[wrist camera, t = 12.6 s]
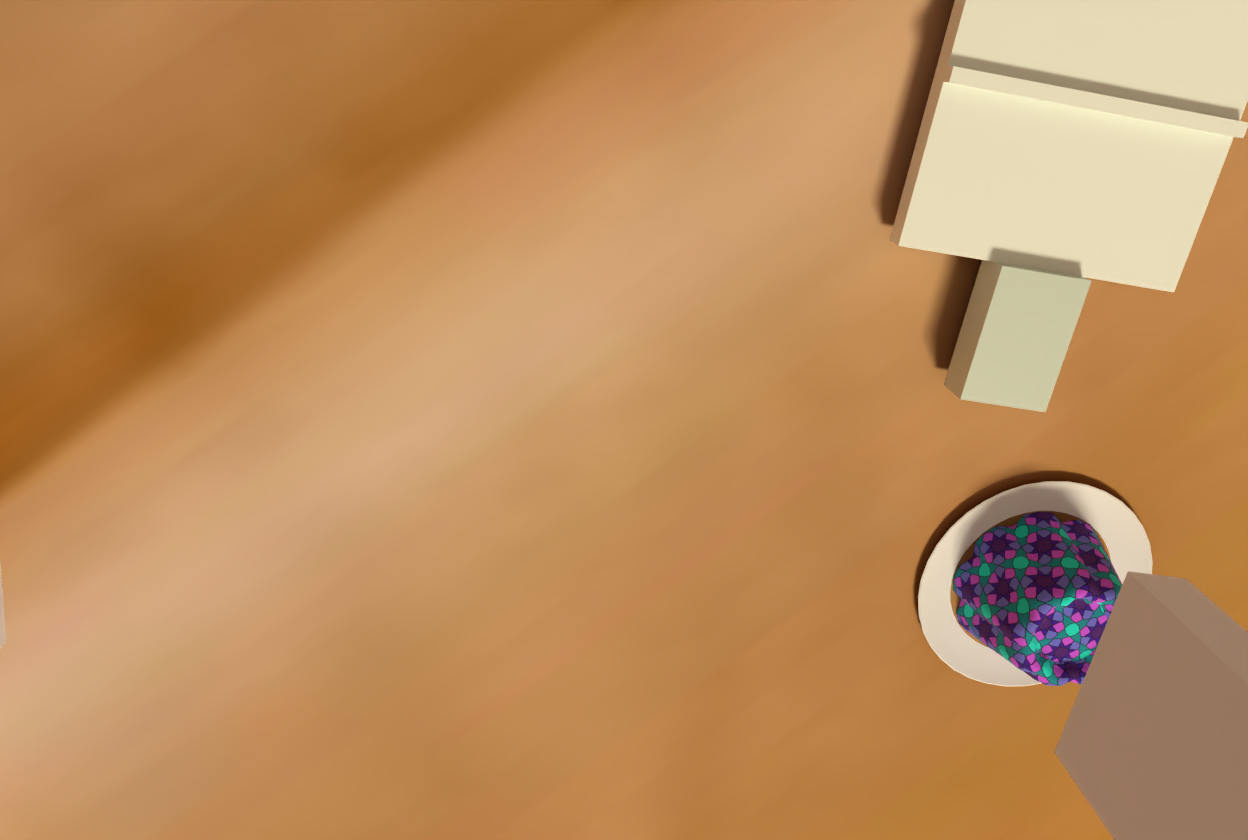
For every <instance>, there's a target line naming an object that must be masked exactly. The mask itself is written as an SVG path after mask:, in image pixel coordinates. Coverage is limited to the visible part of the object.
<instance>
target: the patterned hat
mask: <svg viewBox="0 0 1248 840" xmlns="http://www.w3.org/2000/svg"><path fill="white" fill-rule="evenodd" d="M1035 511H1056V512H1062V513H1067V514H1070V515H1072V516H1075V517H1078V518H1080V519H1082V520H1083V521H1085V522H1087V523H1088V524H1086V523H1084V522H1082V521H1079V520H1073V521H1067V522H1062V523H1061V522H1060V521H1059V520H1058V519H1057V518H1056V517H1055V515H1054V514H1053V513H1047V512H1035ZM1029 512H1035V513H1031V514H1027V515H1024V516H1023V517H1022V518H1021V519H1020V520H1019V521H1018V522H1017V523H1016V524H1015V525H1014V526H1013V527H1011V526H996V527H995V528H993V529H991V530H989V531H987V530H988V529H990V528H991V527H993V526H994V525H996V524H998V523H1000V522H1002V521H1004V520H1006V519H1008V518H1011V517H1014V516H1017V515H1020V514H1023V513H1029ZM1089 524H1090V525H1091V526H1092V527H1093V528H1094V529H1095V530H1096V531H1097V532H1098V533H1099V534H1100V536H1101V537H1102V538H1103V540H1104V541H1105V543H1106V546H1107V548H1108V551H1109V553H1110V559H1111V561H1110V559H1109V557H1108V555H1107V554H1106V552H1105V550H1104V548H1103V546H1102V544H1101V542H1100V540H1099V538H1098V536H1097V534H1096V533H1095V532H1094V530H1093V529H1092V528H1091V527H1090V525H1089ZM985 531H987V532H985ZM984 532H985V533H984ZM983 533H984V534H983ZM982 534H983V535H982ZM981 535H982V536H981ZM979 536H981V537H980V538H979V539H978V541H977V542H976V543H975V546H974V553H973V558H971V559H970V560H968V561H966V562H965V563H963V564H962V565H960V566H959V568H958V570H957V572H956V574H955V576H954V578H953V590H954V592H955V593H956V594H957V595H958V596H959V597H960V599H961V602H960V604H959V607H958V609H957V611H956V614H957V617H958V621H959V624H961V625H962V626H963V627H964V628H965V629H966V630H967V631H968V632H969V633H971V634H972V635H973V636H975V637H976V638H977V639H979V640H980V641H981V642H983V643H984V644H986V645H987V646H988V647H990V648H988V647H985V646H983V645H981V644H979V643H978V642H976V641H974V640H973V639H972V638H970V637H969V636H968V635H967V634H966V633H965V632H964V631H963V630H962V628H961V627H960V626H959V624H958V623H957V621H956V618H955V616H954V614H953V611H952V607H951V602H950V588H951V582H952V577H953V575H954V572H955V569H956V566H957V564H958V563H959V561H960V559H961V557H962V556H963V554H964V553H965V551H966V550H967V549H968V548H969V547H970V545H971V544H972V543H973V542H974V541H975V540H976V539H977V538H978V537H979ZM1128 571H1130V572H1138V573H1145V574H1152V554H1151V547H1150V543H1149V540H1148V537H1147V535H1146V532H1145V529H1144V527H1143V526H1142V524H1141V523H1140V521H1139V520H1138V518H1137V517H1136V515H1135V514H1134V513H1133V512H1132V511H1131V510H1130V509H1129V508H1128V507H1127V506H1126V505H1125V504H1124V503H1123V502H1122V501H1120V500H1119V499H1117V498H1116V497H1114V496H1112V495H1111V494H1109V493H1107V492H1106V491H1103V490H1101V489H1098V488H1095V487H1092V486H1090V485H1086V484H1080V483H1075V482H1069V481H1045V482H1039V483H1032V484H1026V485H1022V486H1019V487H1016V488H1013V489H1010V490H1007V491H1004V492H1002V493H1000V494H998V495H995V496H993V497H991V498H989V499H987V500H985V501H983V502H982V503H980V504H979V505H978V506H976V507H975V508H973V509H972V510H970V511H969V512H967V513H966V514H965V515H964V516H963V517H961V518H960V519H959V520H958V521H957V522H956V523H955V524H954V525H953V526H952V527H951V528H950V529H949V530H948V531H947V532H946V534H945V535H944V536H943V537H942V539H941V540H940V541H939V542H938V544H937V545H936V547H935V549H934V550H933V552H932V554H931V556H930V558H929V559H928V561H927V564H926V566H925V569H924V572H923V575H922V578H921V581H920V588H919V594H918V611H919V618H920V622H921V626H922V630H923V633H924V635H925V637H926V639H927V641H928V643H929V644H930V646H931V648H932V649H933V650H934V651H935V653H936V654H937V655H938V656H939V657H940V659H941V660H942V661H944V662H945V663H946V664H947V665H949V666H950V667H951V668H952V669H954V670H955V671H957V672H959V673H961V674H963V675H965V676H966V677H968V678H971V679H974V680H977V681H980V682H983V683H986V684H993V685H1000V686H1028V685H1034V684H1041V683H1043V684H1045V685H1050V686H1061V685H1063V684H1065V683H1067V682H1070V681H1072V682H1075V683H1078V684H1082V683H1083V681H1084V678H1085V676H1086V673H1087V671H1088V668H1089V666H1090V663H1091V661H1092V658H1093V656H1094V654H1095V651H1096V649H1097V646H1098V644H1099V641H1100V639H1101V636H1102V634H1103V631H1104V629H1105V626H1106V624H1107V622H1108V619H1109V617H1110V614H1111V612H1112V609H1113V607H1114V604H1115V602H1116V599H1117V597H1118V594H1119V592H1120V589H1121V587H1122V585H1123V582H1124V580H1125V577H1126V575H1127V572H1128Z"/></svg>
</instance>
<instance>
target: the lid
mask: <svg viewBox="0 0 1248 840" xmlns="http://www.w3.org/2000/svg"><path fill="white" fill-rule="evenodd" d="M1247 101H1248V0H955V1H954V5H953V8H952V12H951V16H950V19H949V23H948V27H947V31H946V34H945V38H944V42H943V45H942V49H941V53H940V56H939V60H938V64H937V67H936V71H935V75H934V78H933V82H932V86H931V90H930V93H929V97H928V101H927V104H926V108H925V112H924V115H923V119H922V123H921V126H920V130H919V134H918V137H917V141H916V145H915V148H914V152H913V156H912V160H911V163H910V167H909V171H908V174H907V178H906V182H905V185H904V189H903V193H902V196H901V200H900V204H899V207H898V211H897V215H896V219H895V222H894V226H893V230H892V233H891V237H890V241H891V242H893V243H895V244H896V245H898V246H903V247H909V248H915V249H921V250H927V251H933V252H939V253H945V254H951V255H956V256H962V257H968V258H974V259H980V260H982V262H981V265H980V268H979V272H978V275H977V278H976V281H975V285H974V288H973V291H972V294H971V298H970V301H969V304H968V307H967V311H966V314H965V317H964V320H963V324H962V327H961V330H960V333H959V337H958V340H957V343H956V346H955V350H954V353H953V356H952V359H951V363H950V366H949V369H948V372H947V376H946V379H945V382H944V385H945V386H946V387H947V388H948V389H949V390H951V391H952V392H953V393H954V394H955V395H956V396H957V397H958V398H960V399H962V400H969V401H975V402H982V403H988V404H995V405H1002V406H1008V407H1015V408H1021V409H1028V410H1035V411H1041V412H1046V409H1047V406H1048V403H1049V400H1050V398H1051V395H1052V392H1053V389H1054V386H1055V383H1056V380H1057V378H1058V375H1059V372H1060V369H1061V366H1062V363H1063V361H1064V358H1065V355H1066V352H1067V349H1068V346H1069V343H1070V341H1071V338H1072V335H1073V332H1074V329H1075V326H1076V324H1077V321H1078V318H1079V315H1080V312H1081V309H1082V306H1083V304H1084V301H1085V298H1086V295H1087V292H1088V289H1089V287H1090V284H1091V280H1088V279H1086V278H1092V279H1098V280H1104V281H1110V282H1116V283H1122V284H1128V285H1134V286H1140V287H1145V288H1151V289H1157V290H1163V291H1169V292H1174V291H1175V288H1176V286H1177V283H1178V281H1179V278H1180V275H1181V273H1182V270H1183V268H1184V265H1185V262H1186V260H1187V257H1188V255H1189V252H1190V249H1191V247H1192V244H1193V242H1194V239H1195V236H1196V234H1197V231H1198V229H1199V226H1200V223H1201V221H1202V218H1203V216H1204V213H1205V210H1206V208H1207V205H1208V203H1209V200H1210V197H1211V195H1212V192H1213V189H1214V187H1215V184H1216V182H1217V179H1218V176H1219V174H1220V171H1221V169H1222V166H1223V163H1224V161H1225V158H1226V156H1227V153H1228V150H1229V148H1230V145H1231V143H1232V140H1233V137H1238V138H1244V135H1245V132H1246V130H1247V127H1248V123H1247V122H1242V121H1240V119H1241V117H1242V114H1243V111H1244V109H1245V106H1246V104H1247ZM1084 277H1086V278H1084Z"/></svg>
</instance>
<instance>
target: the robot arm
mask: <svg viewBox="0 0 1248 840" xmlns="http://www.w3.org/2000/svg"><path fill="white" fill-rule="evenodd" d="M5 643H6V629H5V616H4V603H3V590H2V577H1V564H0V648H1V647H2V646H3V645H4V644H5ZM1055 754H1056V755H1057V756H1058V758H1059V759H1060V761H1061V762H1062V764H1063V765H1064V767H1065V768H1066V770H1067V771H1068V773H1069V774H1070V775H1071V777H1072V778H1073V780H1074V781H1075V783H1076V784H1077V786H1078V787H1079V789H1080V790H1081V792H1082V793H1083V794H1084V796H1085V797H1086V799H1087V800H1088V802H1089V803H1090V805H1091V806H1092V808H1093V809H1094V811H1095V812H1096V813H1097V815H1098V816H1099V818H1100V819H1101V821H1102V822H1103V824H1104V825H1105V827H1106V828H1107V830H1108V831H1109V832H1110V834H1111V835H1112V837H1113V838H1114V840H1248V632H1247V631H1246V630H1245V629H1244V628H1242V627H1241V626H1240V625H1239V624H1238V623H1237V622H1235V621H1234V620H1233V619H1232V618H1231V617H1230V616H1228V615H1227V614H1226V613H1225V612H1224V611H1223V610H1222V609H1220V608H1219V607H1218V606H1217V605H1216V604H1215V603H1213V602H1212V601H1211V600H1210V599H1209V598H1208V597H1207V596H1205V595H1204V594H1203V593H1202V592H1201V591H1200V590H1198V589H1197V588H1196V587H1195V586H1194V585H1193V584H1191V583H1190V582H1189V581H1188V580H1187V579H1184V578H1177V577H1169V576H1161V575H1153V574H1145V573H1138V572H1130V571H1128V572H1127V575H1126V577H1125V580H1124V582H1123V585H1122V587H1121V589H1120V592H1119V594H1118V597H1117V599H1116V602H1115V604H1114V607H1113V609H1112V612H1111V614H1110V617H1109V619H1108V622H1107V624H1106V626H1105V629H1104V631H1103V634H1102V636H1101V639H1100V641H1099V644H1098V646H1097V649H1096V651H1095V654H1094V656H1093V658H1092V661H1091V663H1090V666H1089V668H1088V671H1087V673H1086V676H1085V678H1084V681H1083V683H1082V686H1081V688H1080V690H1079V693H1078V695H1077V698H1076V700H1075V703H1074V705H1073V708H1072V710H1071V713H1070V715H1069V718H1068V720H1067V722H1066V725H1065V727H1064V730H1063V732H1062V735H1061V737H1060V740H1059V742H1058V745H1057V747H1056V750H1055Z"/></svg>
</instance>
